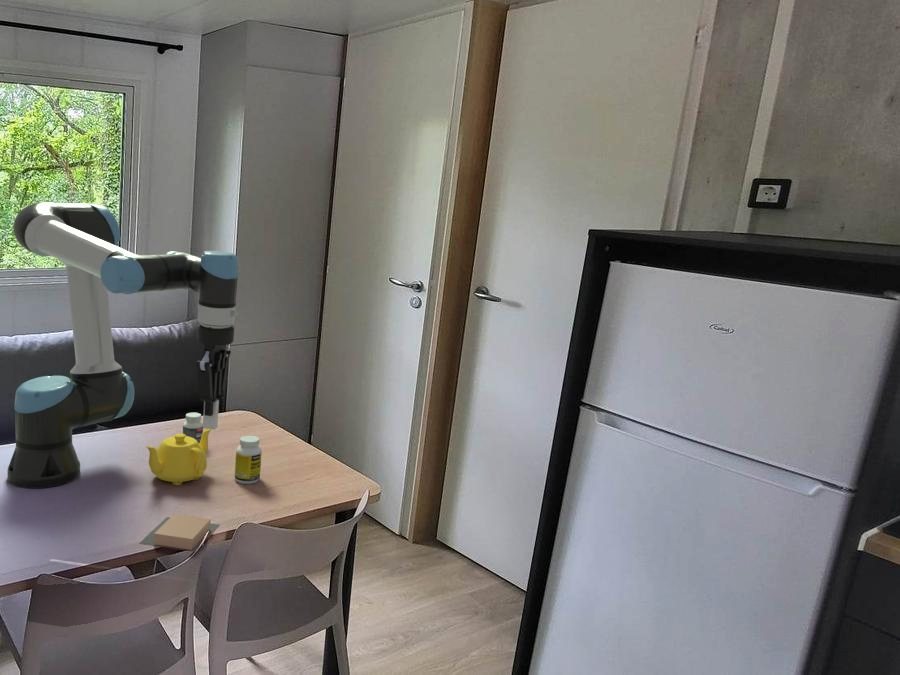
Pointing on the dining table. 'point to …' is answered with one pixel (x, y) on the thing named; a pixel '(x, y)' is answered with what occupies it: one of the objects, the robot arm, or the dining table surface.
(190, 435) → the pill bottle
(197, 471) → the teapot
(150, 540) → the mat
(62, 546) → the dining table surface
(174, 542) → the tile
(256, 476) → the pill bottle
